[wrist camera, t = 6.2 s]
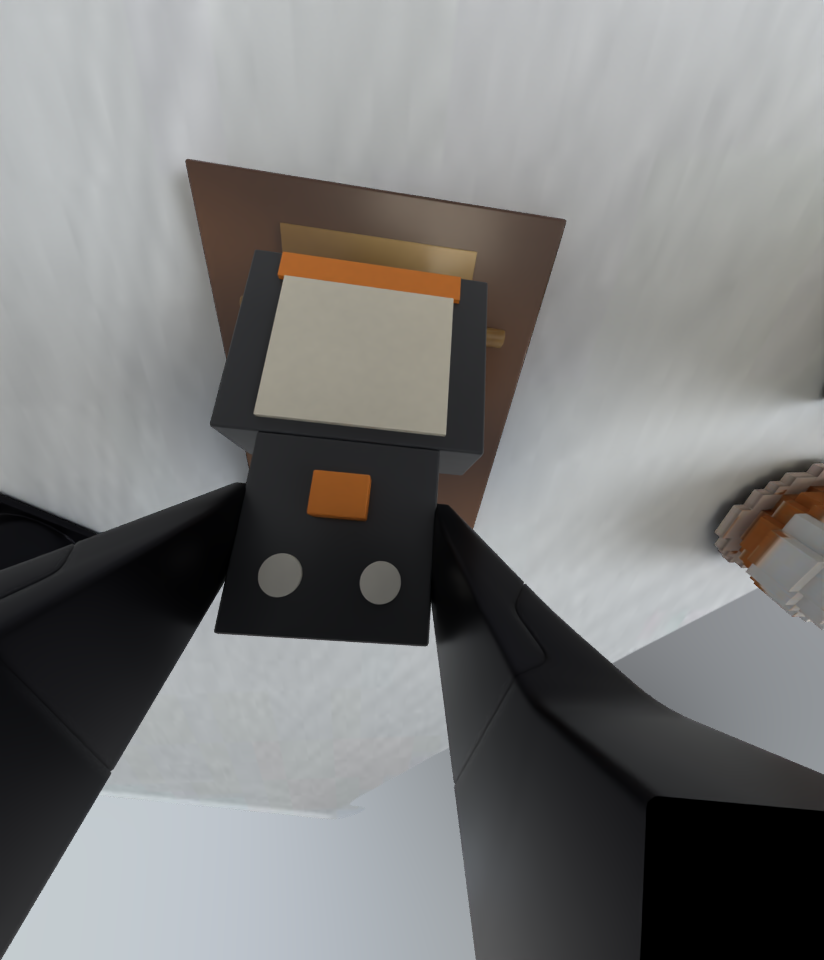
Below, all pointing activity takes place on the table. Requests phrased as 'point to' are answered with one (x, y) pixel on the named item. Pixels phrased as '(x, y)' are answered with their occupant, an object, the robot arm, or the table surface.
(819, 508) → the decorative ornament
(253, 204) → the stand
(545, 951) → the robot arm
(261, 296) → the penguin
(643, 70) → the table surface
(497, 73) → the table surface
